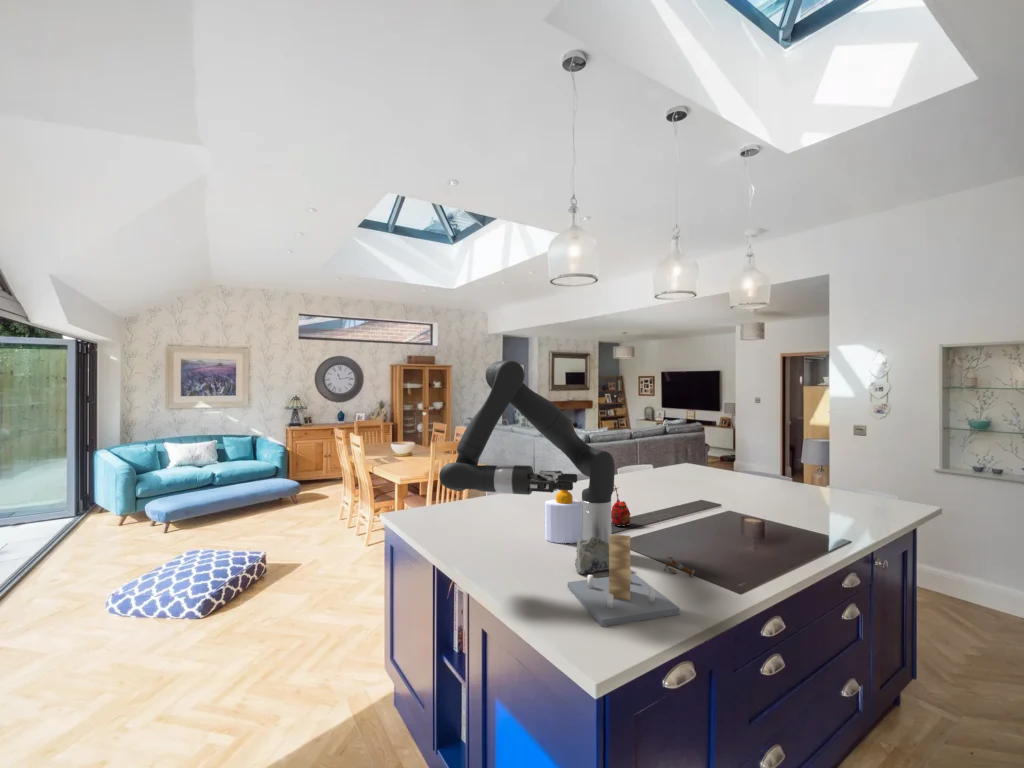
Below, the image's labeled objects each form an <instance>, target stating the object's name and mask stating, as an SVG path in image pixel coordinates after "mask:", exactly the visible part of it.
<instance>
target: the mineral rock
mask: <svg viewBox="0 0 1024 768" xmlns="http://www.w3.org/2000/svg"><path fill="white" fill-rule="evenodd" d="M575 551H576V558H575V563H574V566H575V568H576V569H575V570H576V572H577V573H578V574H581V575H585V574H589V573H595V572H601V571H605V570H609V544H608V543H607V542H606V541H603V540H602V539H600V538H597V537H595V536H593V537H591V538H590V539H588V540H578V542H577V543H576V550H575Z"/></svg>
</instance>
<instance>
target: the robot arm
mask: <svg viewBox="0 0 1024 768" xmlns="http://www.w3.org/2000/svg"><path fill="white" fill-rule="evenodd" d="M524 380H525V371H524V368H523V367H522V365H521V364H520V363H519V362H518V361H514V360H499V361H495V362H493V363H491V364H489V365H488V367H487V368H486V370H485V381H486V383H487V385H488V386H489V388H490V389H491V390H490V392H489V394H488V396H487V398H486V400H485V401H484V403H483V405H482V406H481V407H480V409H478V411H477V413H476V414H475V415H474V416H473V417H472V418H471V420H470V421H469V423H468V424H467V426H466V428H465V429H464V432H463V434H462V436H461V437H460V441H458V444H457V447H456V452H457V454H458V455H457V458H456V459H455V462H450V463H447V464H445V465H444V466H443V467H442V468H441V469H440V471H439V476H438V477H439V482H440V483H441V485H443V486H444V487H445V488H446V489H448V490H452V491H455V492H463V491H465V490H475V491H480V492H483V493H484V492H486V493H487V492H489V493H498V494H499V493H501V494H507V495H509V494H510V495H524V496H525V495H526V496H529V495H531V494H532V493H533V492H540V493H541V492H542V493H554V492H556V491H557V492H558V491H560V490H568V491H573V490H574V483H575V484H576V483H577V482H578V474H576V473H564V472H563V471H561V470H539V472H538V473H534V469H533V466H531V465H527V464H526V465H525V464H523V465H521V464H503V465H502V464H501V465H495V464H494V465H491V464H490V465H488V464H487V465H483V464H482V465H479V462H480V461H479V460H480V457H481V456H482V453H483V452H484V449H485V448H486V445H487V444H488V442H489V439H490V437H491V435H492V433H493V431H494V430H495V428H496V425H497V423H498V422H499V421H500V418H501V417H502V415H503V414H504V413H505V411H506V410H507V409H506V408H507V407H508V406H509V404H511V405H512V406H513V407H514V408H515V409H516V410H517V411H518V412H519V413H520V414H521V415H522V416H523V417H524V418H525V419H526V420H527V421H528V422H529V423H530V424H531V425H532V426H533V427H534V429H536V430H537V431H538V432H539V433H541V435H543V437H545V438H546V440H548V441H549V442H551V443H552V445H554V446H555V447H556V448H557V449H559V450H560V451H561V452H562V453H563V454H564V455H565V456H566V457H567V458H568V459H569V460H570V461H571V463H572V464H573V465H574V467H575V468H576V469H577V470H578V471H579V472H580V473H581V474H582V475H583V476H586V477H589V485H588V487H587V488H585V489H583V490H582V492H581V502H582V540H588V539H590V538H591V537H593V536H595V537H597V538H600V539H602V540H603V541H606V542H607V543H608V544H609V538H610V534H612V519H611V511H612V495H613V493H614V492H613V490H614V488H615V486H614V485H615V474H616V473H615V471H616V465H615V459H614V457H613V455H612V454H611V453H610V452H608V451H606V450H604V449H599V448H598V449H597V448H594V447H593V446H590V445H589V444H588V443H586V442H585V441H584V440H583V439H582V438H581V437H579V435H578V434H577V432H576V430H575V428H574V425H573V423H572V421H571V420H570V418H569V417H568V416H567V415H566V414H565V413H564V412H563V411H562V410H561V409H560V408H559V407H558V406H556V405H555V403H553V402H552V401H550V400H548V398H546V397H544V396H542V395H540V394H539V393H537V392H536V391H533V390H532V389H531V388H530V387H528V386H527V385H526V384H525V383H524Z"/></svg>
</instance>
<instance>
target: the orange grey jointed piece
mask: <svg viewBox="0 0 1024 768" xmlns="http://www.w3.org/2000/svg"><path fill="white" fill-rule="evenodd" d="M665 558H666V560H667V563H666V564H665V566H664V568H663V571H666V570H668V571H669V572H670V573H672V574H673V575H674V574H677V571H676V569H674V568H673V567H671V568H670V567H669V566H672V565H675V567H677V568H678V569H679V570H683V571H684V572H685V573H686V574H688V575H689V577H690V578H693V575H694V573H695V569H690V568H687V567H686V566H684V565H682V563H680V562H679V561H675V560H674V558H673V556H666V557H665Z"/></svg>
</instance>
